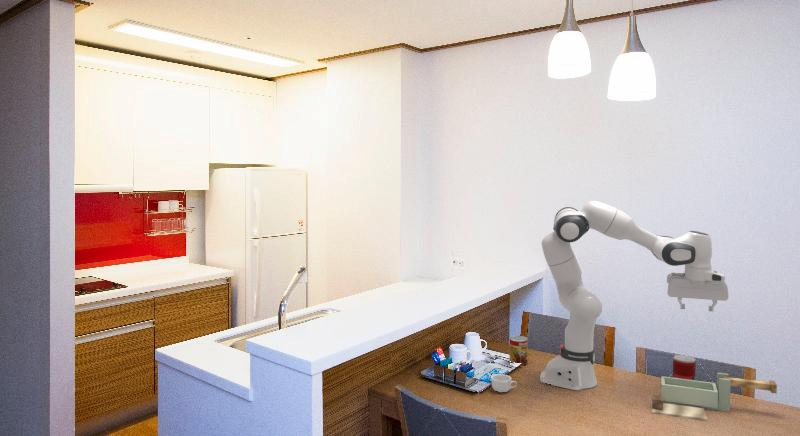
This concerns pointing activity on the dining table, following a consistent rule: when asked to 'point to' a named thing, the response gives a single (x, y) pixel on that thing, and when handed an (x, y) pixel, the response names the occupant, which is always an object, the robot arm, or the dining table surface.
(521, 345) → the canned food
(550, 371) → the robot arm
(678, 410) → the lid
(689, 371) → the canned food
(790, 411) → the dining table surface
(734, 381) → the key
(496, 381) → the teacup
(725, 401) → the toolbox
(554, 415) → the dining table surface
